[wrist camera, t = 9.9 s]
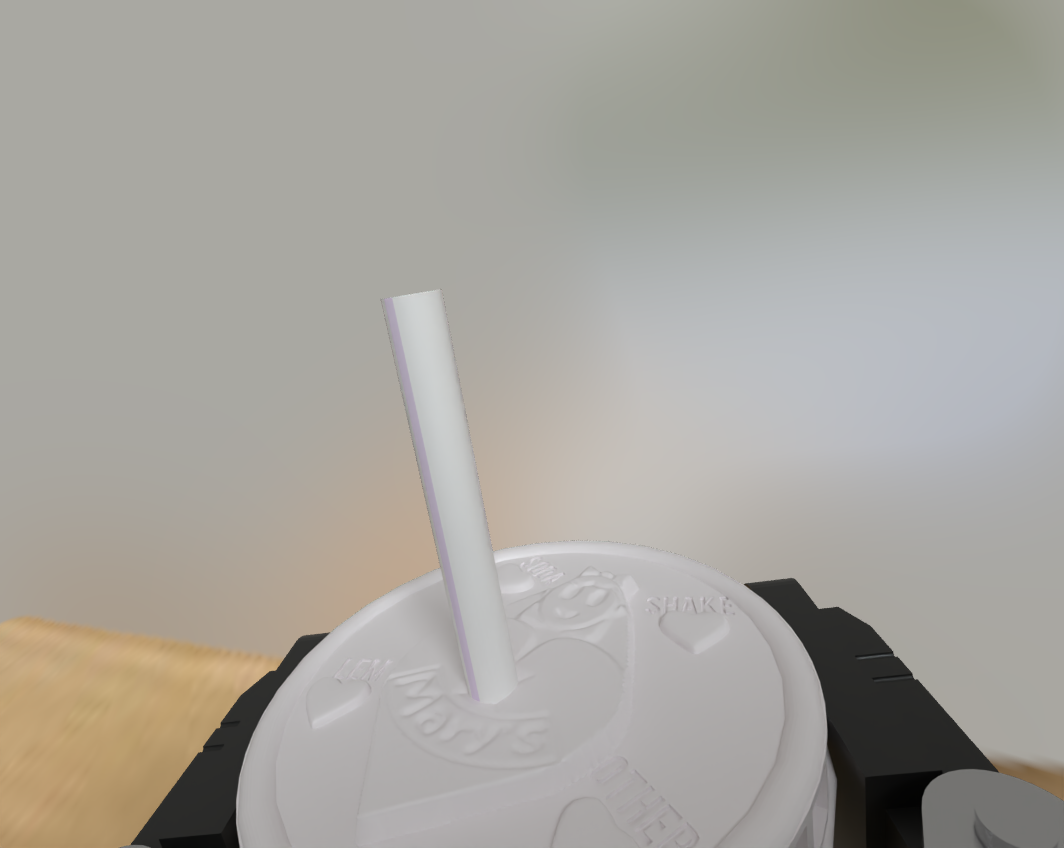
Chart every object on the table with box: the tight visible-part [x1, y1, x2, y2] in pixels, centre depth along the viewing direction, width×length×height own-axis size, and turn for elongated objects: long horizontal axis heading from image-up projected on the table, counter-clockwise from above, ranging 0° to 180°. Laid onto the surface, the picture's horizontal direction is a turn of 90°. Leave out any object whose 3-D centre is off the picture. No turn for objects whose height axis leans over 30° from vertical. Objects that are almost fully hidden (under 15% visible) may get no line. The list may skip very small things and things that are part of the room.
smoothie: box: [236, 289, 837, 848], centre depth 7 cm, size 6×6×14 cm
